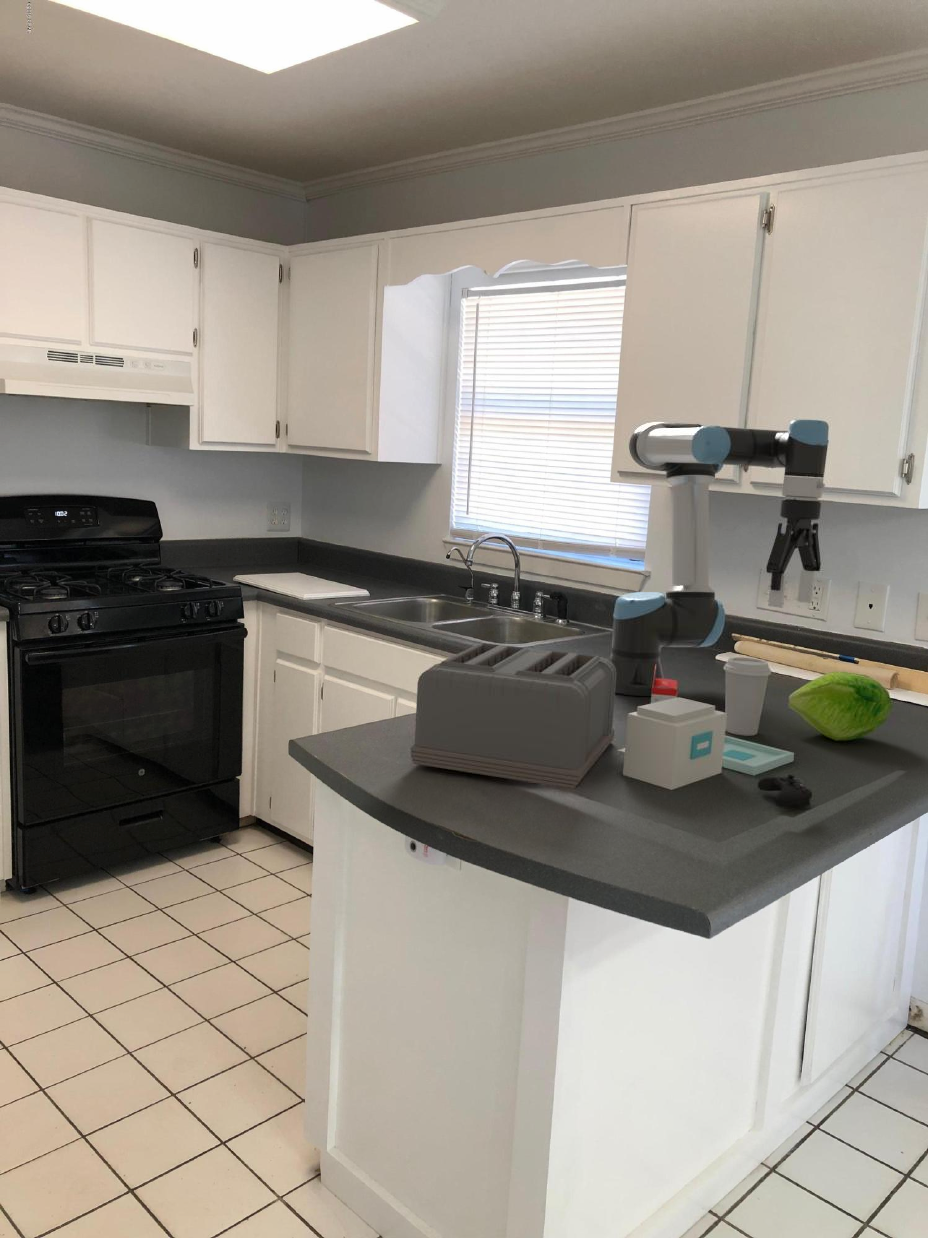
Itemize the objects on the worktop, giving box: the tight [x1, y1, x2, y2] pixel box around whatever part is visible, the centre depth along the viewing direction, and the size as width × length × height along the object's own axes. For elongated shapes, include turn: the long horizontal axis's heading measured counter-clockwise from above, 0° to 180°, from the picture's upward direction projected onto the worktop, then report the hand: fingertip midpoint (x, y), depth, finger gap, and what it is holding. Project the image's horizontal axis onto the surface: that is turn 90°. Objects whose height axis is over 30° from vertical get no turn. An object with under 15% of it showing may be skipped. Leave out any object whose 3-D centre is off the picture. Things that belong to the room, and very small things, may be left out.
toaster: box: [410, 642, 617, 789], centre depth 189 cm, size 30×36×18 cm
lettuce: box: [788, 671, 893, 742], centre depth 211 cm, size 15×20×14 cm
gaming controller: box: [757, 774, 813, 808], centre depth 167 cm, size 10×5×6 cm
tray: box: [722, 734, 795, 776], centre depth 192 cm, size 15×15×2 cm
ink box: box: [650, 665, 678, 704], centre depth 201 cm, size 8×5×15 cm, turn 168°
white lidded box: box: [616, 696, 727, 791], centre depth 180 cm, size 14×16×12 cm
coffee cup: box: [723, 656, 772, 736], centre depth 211 cm, size 10×10×15 cm
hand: (790, 604), depth 205 cm, fingers open, 13 cm apart
